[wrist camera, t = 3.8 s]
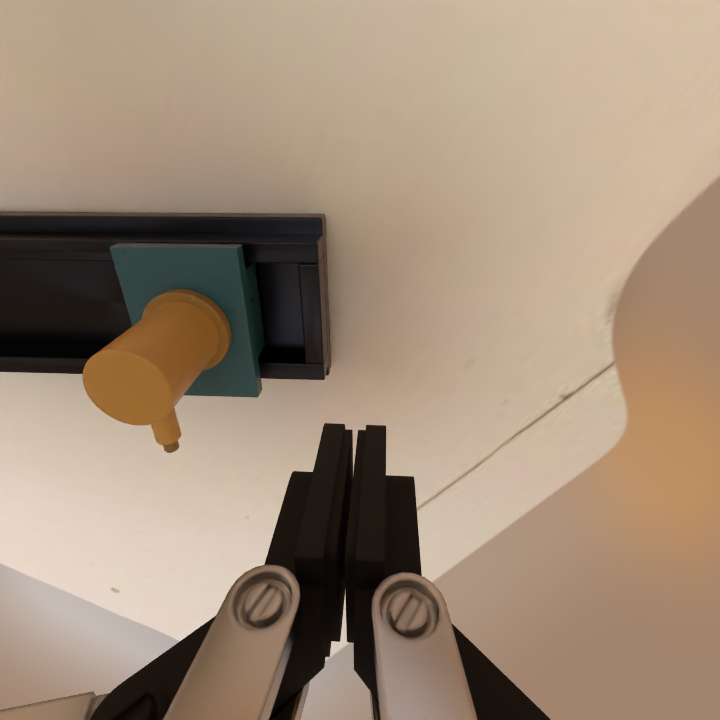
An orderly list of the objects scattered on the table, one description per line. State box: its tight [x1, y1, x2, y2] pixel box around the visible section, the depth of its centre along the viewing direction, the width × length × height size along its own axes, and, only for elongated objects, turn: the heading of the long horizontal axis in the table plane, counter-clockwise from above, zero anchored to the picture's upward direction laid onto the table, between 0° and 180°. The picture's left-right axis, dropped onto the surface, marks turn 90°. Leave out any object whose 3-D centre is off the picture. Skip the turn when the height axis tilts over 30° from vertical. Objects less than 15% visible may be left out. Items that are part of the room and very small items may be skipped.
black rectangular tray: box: [0, 212, 331, 380], centre depth 22 cm, size 24×9×3 cm, turn 90°
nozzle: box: [83, 243, 265, 453], centre depth 18 cm, size 6×8×8 cm
